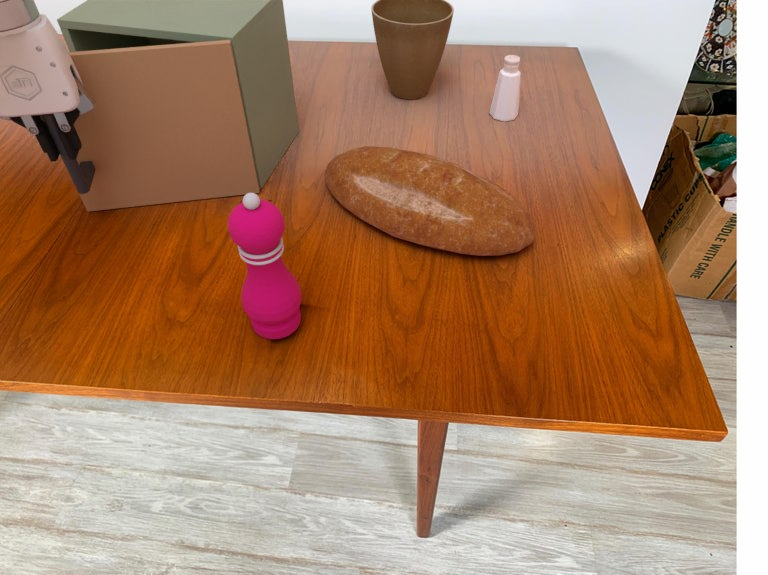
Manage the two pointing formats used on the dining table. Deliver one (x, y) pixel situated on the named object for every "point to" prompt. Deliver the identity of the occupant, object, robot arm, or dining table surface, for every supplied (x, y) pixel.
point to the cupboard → (202, 24)
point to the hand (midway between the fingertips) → (65, 154)
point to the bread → (429, 201)
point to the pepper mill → (265, 268)
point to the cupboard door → (159, 126)
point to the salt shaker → (507, 91)
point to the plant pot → (411, 42)
